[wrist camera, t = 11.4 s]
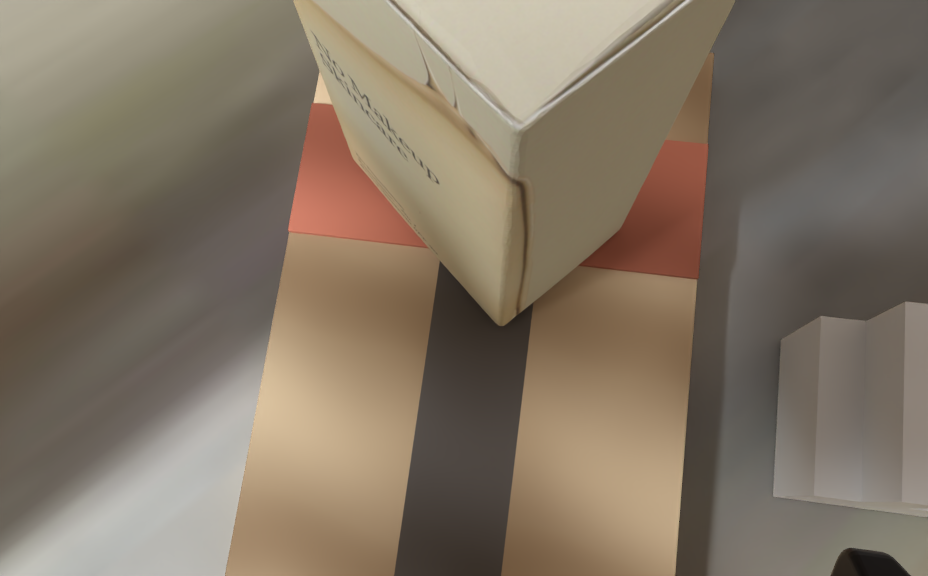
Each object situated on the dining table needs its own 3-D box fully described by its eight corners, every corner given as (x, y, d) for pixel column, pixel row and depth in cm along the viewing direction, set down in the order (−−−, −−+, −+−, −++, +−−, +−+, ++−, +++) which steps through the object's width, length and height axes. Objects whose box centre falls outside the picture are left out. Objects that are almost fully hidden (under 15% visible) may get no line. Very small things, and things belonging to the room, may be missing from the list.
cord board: (654, 727, 21) (663, 743, 19) (223, 660, 22) (205, 670, 20) (704, 74, 25) (715, 49, 23) (338, 38, 25) (329, 12, 24)
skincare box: (349, 159, 23) (186, -199, 11) (478, 57, 24) (450, -387, 12) (506, 338, 22) (507, 145, 10) (639, 226, 22) (788, -85, 10)
